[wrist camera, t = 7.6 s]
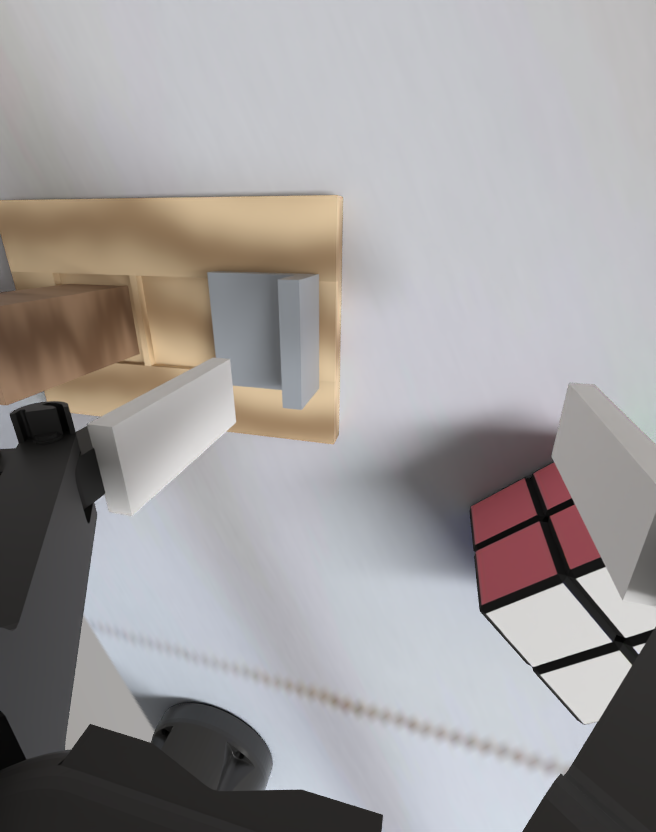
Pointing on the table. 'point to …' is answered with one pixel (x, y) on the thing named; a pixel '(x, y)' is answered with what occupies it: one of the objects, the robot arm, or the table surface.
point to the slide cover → (268, 331)
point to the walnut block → (61, 335)
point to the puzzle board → (185, 287)
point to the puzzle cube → (555, 593)
